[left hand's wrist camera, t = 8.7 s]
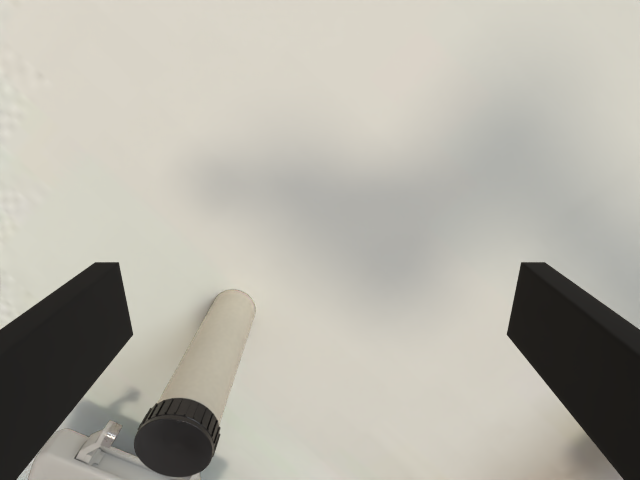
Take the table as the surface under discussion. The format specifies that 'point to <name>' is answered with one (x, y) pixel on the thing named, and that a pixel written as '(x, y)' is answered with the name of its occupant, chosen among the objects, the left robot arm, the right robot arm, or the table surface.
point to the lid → (177, 437)
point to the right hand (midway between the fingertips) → (155, 445)
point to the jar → (214, 353)
